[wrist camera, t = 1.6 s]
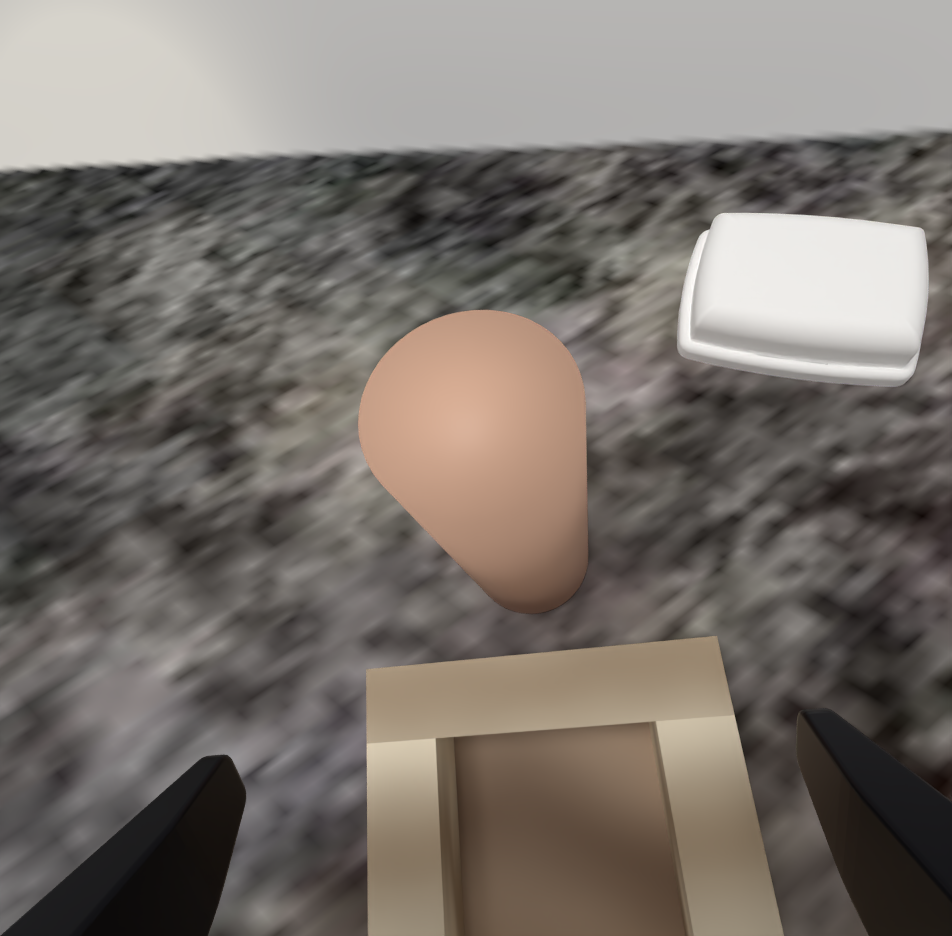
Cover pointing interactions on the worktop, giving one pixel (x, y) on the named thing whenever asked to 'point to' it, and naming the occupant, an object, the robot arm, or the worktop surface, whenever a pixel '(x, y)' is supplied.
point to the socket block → (563, 797)
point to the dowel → (487, 451)
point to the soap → (807, 298)
